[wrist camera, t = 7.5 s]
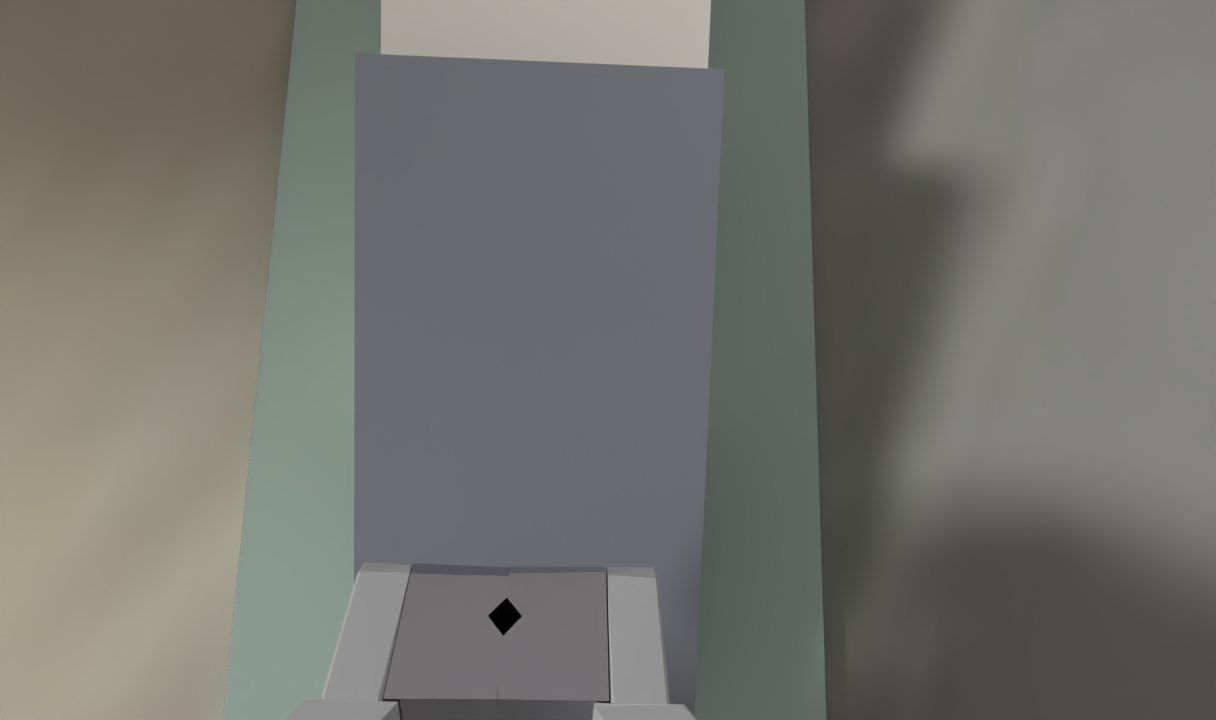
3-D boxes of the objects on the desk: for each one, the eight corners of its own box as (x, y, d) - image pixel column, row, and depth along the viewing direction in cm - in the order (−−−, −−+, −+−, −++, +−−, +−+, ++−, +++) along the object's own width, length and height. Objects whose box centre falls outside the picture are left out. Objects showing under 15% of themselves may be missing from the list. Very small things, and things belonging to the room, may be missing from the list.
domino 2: (692, 758, 13) (724, 69, 12) (353, 755, 13) (355, 53, 12) (679, 705, 15) (706, 91, 14) (377, 701, 15) (380, 77, 13)
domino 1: (691, 431, 14) (721, -229, 13) (379, 424, 14) (382, -249, 13) (679, 415, 16) (705, -176, 15) (398, 408, 16) (403, -193, 15)
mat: (826, 949, 15) (833, 959, 14) (207, 949, 14) (197, 961, 14) (790, -302, 20) (795, -319, 19) (337, -330, 19) (332, -348, 19)
